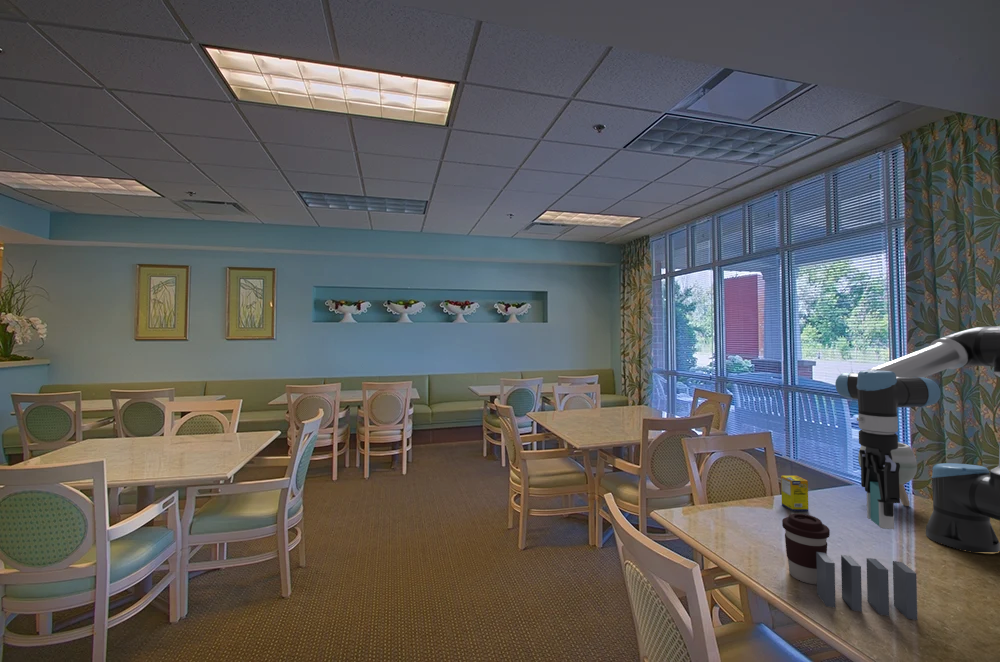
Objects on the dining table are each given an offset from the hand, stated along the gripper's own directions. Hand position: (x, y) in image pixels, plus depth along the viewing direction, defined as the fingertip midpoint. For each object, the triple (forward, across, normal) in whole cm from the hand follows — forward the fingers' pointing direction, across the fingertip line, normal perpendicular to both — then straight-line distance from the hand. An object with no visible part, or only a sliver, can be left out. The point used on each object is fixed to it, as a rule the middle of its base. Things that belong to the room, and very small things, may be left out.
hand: (880, 523), depth 109 cm
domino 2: (+14, +14, -12) cm, 23 cm away
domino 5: (+14, +14, -2) cm, 20 cm away
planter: (+15, -61, +30) cm, 69 cm away
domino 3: (0, 0, 0) cm, 0 cm away
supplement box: (+15, -47, -4) cm, 49 cm away
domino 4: (+14, +14, -7) cm, 21 cm away
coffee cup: (+14, +4, -18) cm, 23 cm away
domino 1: (+14, +14, -17) cm, 26 cm away
